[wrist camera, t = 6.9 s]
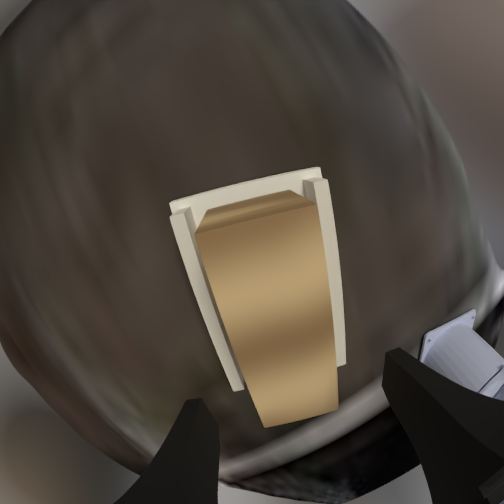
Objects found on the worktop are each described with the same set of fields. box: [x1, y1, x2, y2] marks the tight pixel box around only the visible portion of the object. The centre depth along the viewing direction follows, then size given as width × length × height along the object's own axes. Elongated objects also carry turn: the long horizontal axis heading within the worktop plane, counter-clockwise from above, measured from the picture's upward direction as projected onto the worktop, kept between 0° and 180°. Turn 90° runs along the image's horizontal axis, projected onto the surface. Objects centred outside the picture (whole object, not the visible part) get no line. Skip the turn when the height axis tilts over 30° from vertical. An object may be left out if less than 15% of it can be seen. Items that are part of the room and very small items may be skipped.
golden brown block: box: [194, 189, 338, 428], centre depth 14 cm, size 12×4×5 cm, turn 13°
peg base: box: [169, 167, 346, 391], centre depth 17 cm, size 14×9×3 cm, turn 13°
